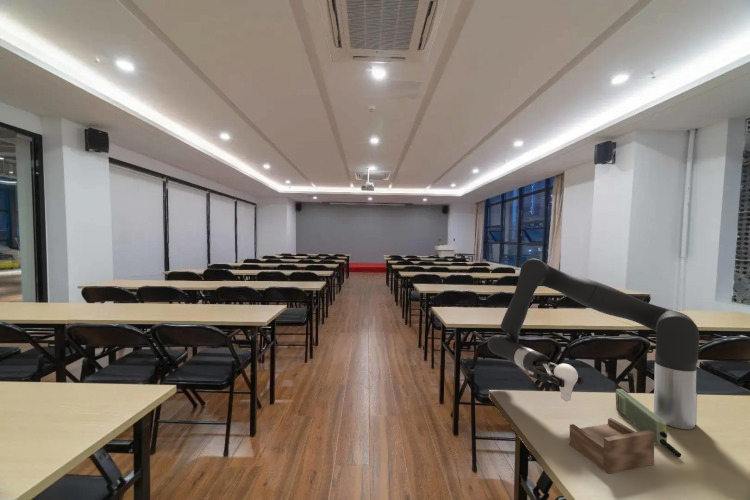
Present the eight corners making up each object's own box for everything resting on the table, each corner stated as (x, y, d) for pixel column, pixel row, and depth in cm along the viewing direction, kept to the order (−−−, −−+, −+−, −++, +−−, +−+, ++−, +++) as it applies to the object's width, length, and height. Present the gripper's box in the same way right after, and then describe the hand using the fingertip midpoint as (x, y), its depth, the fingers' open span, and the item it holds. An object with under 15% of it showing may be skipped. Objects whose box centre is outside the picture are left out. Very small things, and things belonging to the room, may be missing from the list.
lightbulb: (550, 400, 95) (550, 364, 94) (559, 393, 98) (559, 358, 98) (573, 408, 90) (572, 370, 90) (581, 401, 94) (581, 364, 93)
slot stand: (611, 437, 90) (611, 409, 90) (653, 464, 79) (654, 432, 79) (569, 444, 87) (569, 415, 86) (608, 473, 76) (608, 440, 76)
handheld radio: (625, 409, 105) (686, 460, 80) (614, 408, 106) (672, 460, 81) (624, 389, 105) (686, 434, 80) (613, 388, 106) (671, 434, 81)
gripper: (513, 352, 106) (551, 372, 90) (549, 348, 109) (593, 367, 93) (513, 374, 106) (551, 398, 90) (549, 370, 110) (593, 392, 93)
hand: (572, 382), depth 92 cm, fingers closed on lightbulb, 6 cm apart
